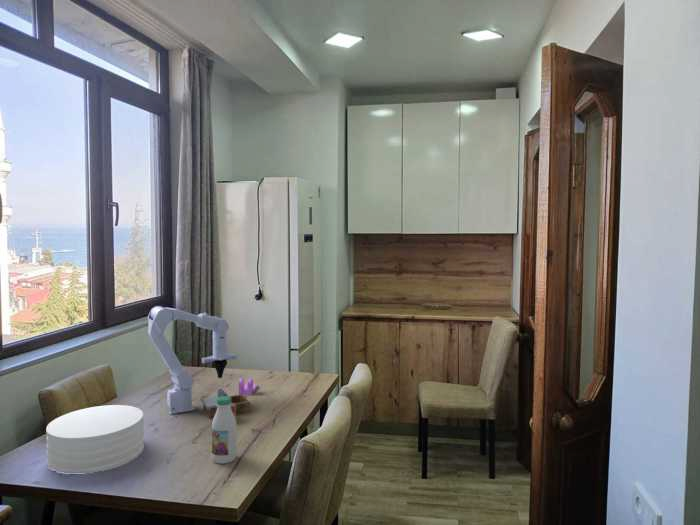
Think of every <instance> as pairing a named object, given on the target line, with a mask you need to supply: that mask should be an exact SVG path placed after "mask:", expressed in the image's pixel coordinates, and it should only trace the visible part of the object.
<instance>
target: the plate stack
mask: <svg viewBox="0 0 700 525" xmlns="http://www.w3.org/2000/svg"><path fill="white" fill-rule="evenodd" d="M45 429H46V430H45V433H46V459H47V460H46V464H48V466H49V467H50V468H52V469H54V470H56V471H59V472H64V473H75V474H76V473H92V472H97V473H99V472H98V471H102V472H105V471H104V470H106V471H109V469H110V470H112V468H113V469H115V468H116V469H117V468H118V466H119V467H121V466H123V465H125V464H127V463H130V462H132V461H133V460H135V459H136V458H137V457H139V456H140V455H141V454H142V452H143V451H144V449H143V448H144V447H145V442H144V441H145V440H144V439H145V436H144V433H145V430H144V412H143V411H142V409H140V408H138V407H135V406H132V405H124V404H123V405H122V404H110V405H98V406H90V407H85V408H82V409H78V410H77V409H76V410H74V411H71V412H68V413H66V414H62V415H60V416H58V417H56V418H54V419H53V420H52V421H50V422H49V423H48V424H47V426H46V428H45ZM139 454H140V455H139ZM138 455H139V456H138ZM134 458H135V459H134ZM131 460H132V461H131ZM129 461H130V462H129ZM48 466H47V467H48ZM92 474H93V473H92Z"/></svg>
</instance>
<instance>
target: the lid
mask: <svg viewBox="0 0 700 525" xmlns="http://www.w3.org/2000/svg"><path fill="white" fill-rule="evenodd" d="M221 396H228V393H227V392H226V391H225V390H224V389H222V388H218V389H217V395H212V396H206V397H201V398H200V402H201V403H202V405H203V404H204V405H205V406H206V407H207V408H208V409H211V408H217V398H218V397H221ZM231 403H232V402H231Z"/></svg>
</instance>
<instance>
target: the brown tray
mask: <svg viewBox="0 0 700 525" xmlns="http://www.w3.org/2000/svg"><path fill="white" fill-rule="evenodd" d="M229 397H231V402H232V403H234V404H235V405H236V415H239V414H245V413H249V412H250V413H251V402H250V401H249V400H248V399H247V397H245V395H242V394H240V395H239V394H235V395H229ZM202 406H203V407H202V408H203V409H202V410H203V412H204V413H205V414H206V415H207V417H208V418H209V419H210V420H213V418H214V416H215V414H216V411H217V408H211V409H208V408H207V407H206V406H205V405H204V404H203V403H202Z"/></svg>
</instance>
